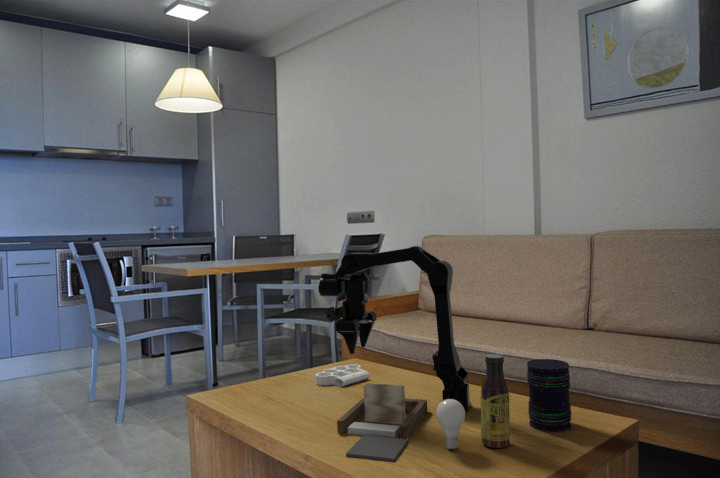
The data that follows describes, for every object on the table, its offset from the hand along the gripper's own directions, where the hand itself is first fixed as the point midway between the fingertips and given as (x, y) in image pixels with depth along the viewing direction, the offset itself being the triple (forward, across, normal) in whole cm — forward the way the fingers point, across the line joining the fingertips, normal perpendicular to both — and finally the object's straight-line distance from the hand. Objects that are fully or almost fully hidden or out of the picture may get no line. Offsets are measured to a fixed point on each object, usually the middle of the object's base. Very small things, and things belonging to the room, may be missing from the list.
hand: (357, 350), depth 160 cm
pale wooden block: (+15, +14, +12) cm, 24 cm away
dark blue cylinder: (+15, +8, +52) cm, 55 cm away
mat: (+15, +32, +16) cm, 39 cm away
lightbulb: (+15, +28, +32) cm, 45 cm away
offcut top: (+14, +23, +12) cm, 30 cm away
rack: (+15, +15, +12) cm, 24 cm away
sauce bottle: (+15, +23, +41) cm, 49 cm away
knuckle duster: (+15, -20, -14) cm, 29 cm away
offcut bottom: (+16, +23, +12) cm, 30 cm away
